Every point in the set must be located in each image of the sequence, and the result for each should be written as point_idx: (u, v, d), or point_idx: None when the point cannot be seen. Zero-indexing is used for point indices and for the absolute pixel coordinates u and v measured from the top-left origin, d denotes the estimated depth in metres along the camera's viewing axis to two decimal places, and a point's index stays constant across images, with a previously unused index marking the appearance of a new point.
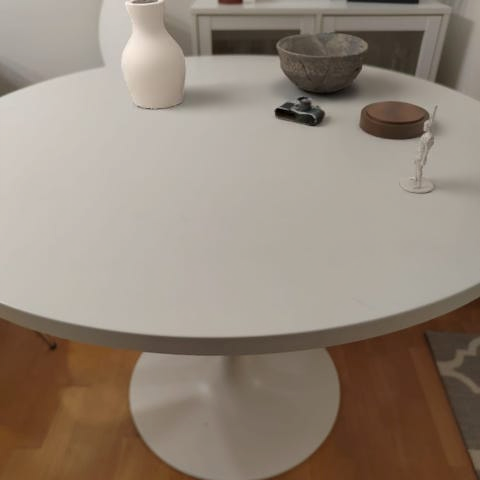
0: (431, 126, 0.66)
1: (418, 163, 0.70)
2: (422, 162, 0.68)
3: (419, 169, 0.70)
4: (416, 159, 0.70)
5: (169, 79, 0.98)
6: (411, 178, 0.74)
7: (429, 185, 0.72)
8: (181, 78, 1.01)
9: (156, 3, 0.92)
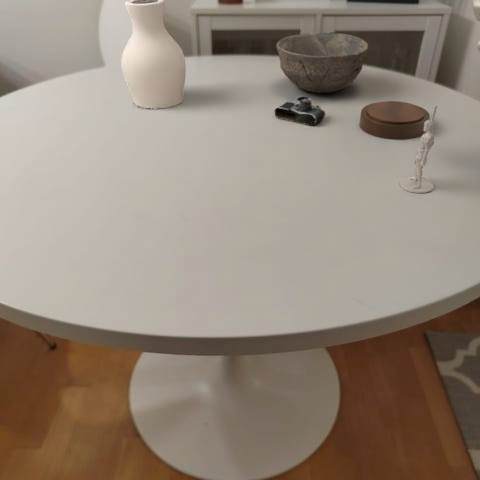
0: (431, 126, 0.66)
1: (418, 163, 0.70)
2: (422, 162, 0.68)
3: (419, 169, 0.70)
4: (416, 159, 0.70)
5: (169, 79, 0.98)
6: (411, 178, 0.74)
7: (429, 185, 0.72)
8: (181, 78, 1.01)
9: (156, 3, 0.92)
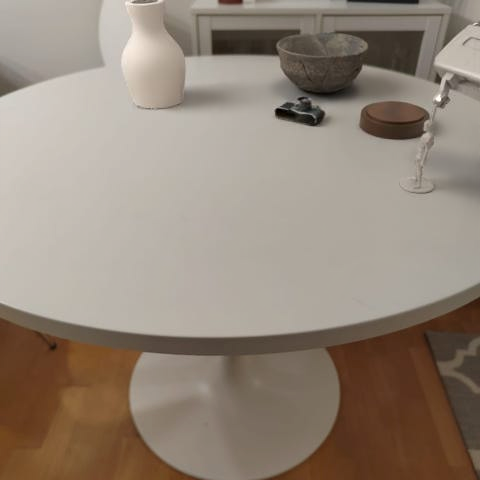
0: (431, 126, 0.66)
1: (418, 163, 0.70)
2: (422, 162, 0.68)
3: (419, 169, 0.70)
4: (416, 159, 0.70)
5: (169, 79, 0.98)
6: (411, 178, 0.74)
7: (429, 185, 0.72)
8: (181, 78, 1.01)
9: (156, 3, 0.92)
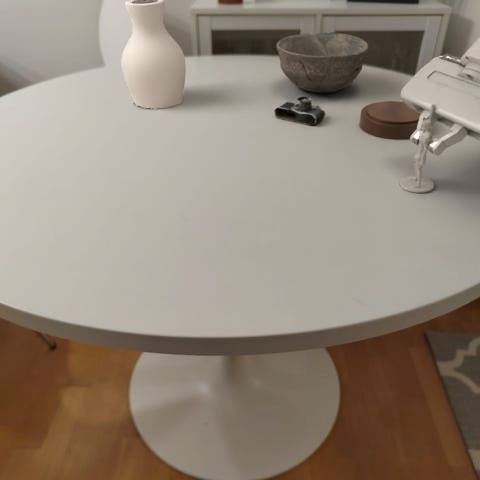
0: (429, 125, 0.66)
1: (417, 162, 0.70)
2: (421, 161, 0.68)
3: (418, 169, 0.70)
4: (415, 159, 0.70)
5: (169, 79, 0.98)
6: (411, 178, 0.74)
7: (429, 184, 0.72)
8: (181, 78, 1.01)
9: (156, 3, 0.92)
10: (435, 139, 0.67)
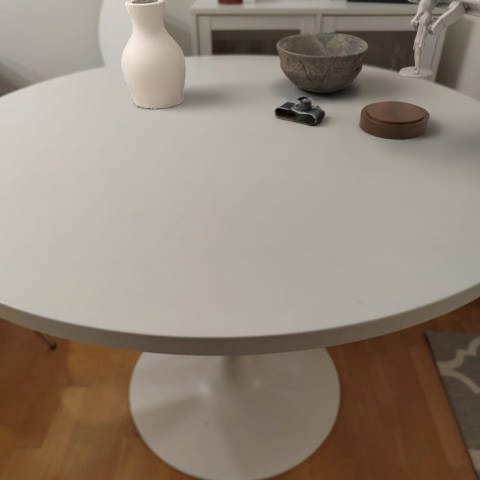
0: (428, 5, 0.69)
1: (417, 47, 0.73)
2: (420, 43, 0.71)
3: (418, 54, 0.73)
4: (415, 43, 0.73)
5: (169, 79, 0.98)
6: (411, 67, 0.77)
7: (428, 72, 0.75)
8: (181, 78, 1.01)
9: (156, 3, 0.92)
10: (434, 19, 0.69)
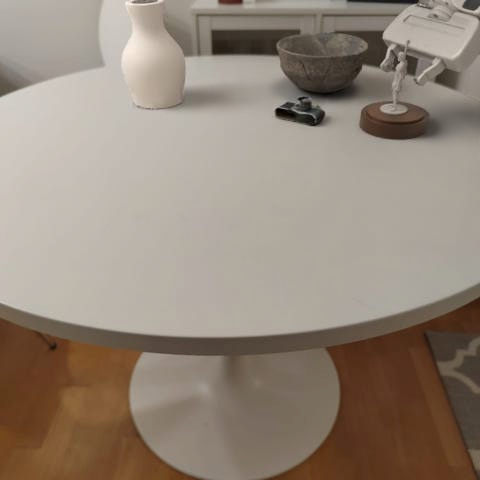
0: (403, 56, 0.83)
1: (394, 89, 0.87)
2: (397, 87, 0.85)
3: (395, 94, 0.87)
4: (392, 86, 0.87)
5: (169, 79, 0.98)
6: (390, 104, 0.91)
7: (404, 109, 0.89)
8: (181, 78, 1.01)
9: (156, 3, 0.92)
10: (419, 72, 0.81)
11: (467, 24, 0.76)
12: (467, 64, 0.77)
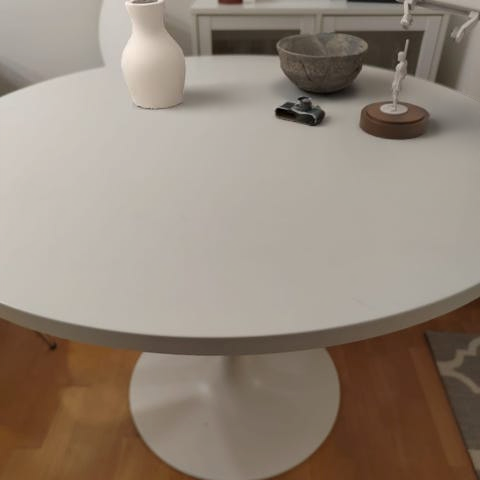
0: (403, 56, 0.83)
1: (394, 89, 0.87)
2: (397, 87, 0.85)
3: (395, 94, 0.87)
4: (392, 86, 0.87)
5: (169, 79, 0.98)
6: (390, 104, 0.91)
7: (404, 109, 0.89)
8: (181, 78, 1.01)
9: (156, 3, 0.92)
10: (456, 28, 0.77)
11: None
12: None
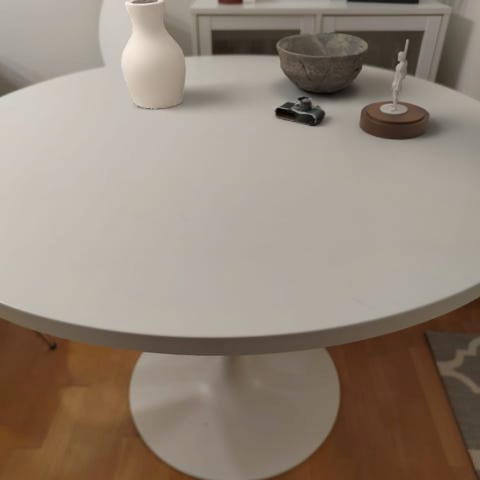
0: (403, 56, 0.83)
1: (394, 89, 0.87)
2: (397, 87, 0.85)
3: (395, 94, 0.87)
4: (392, 86, 0.87)
5: (169, 79, 0.98)
6: (390, 104, 0.91)
7: (404, 109, 0.89)
8: (181, 78, 1.01)
9: (156, 3, 0.92)
10: None
11: None
12: None
